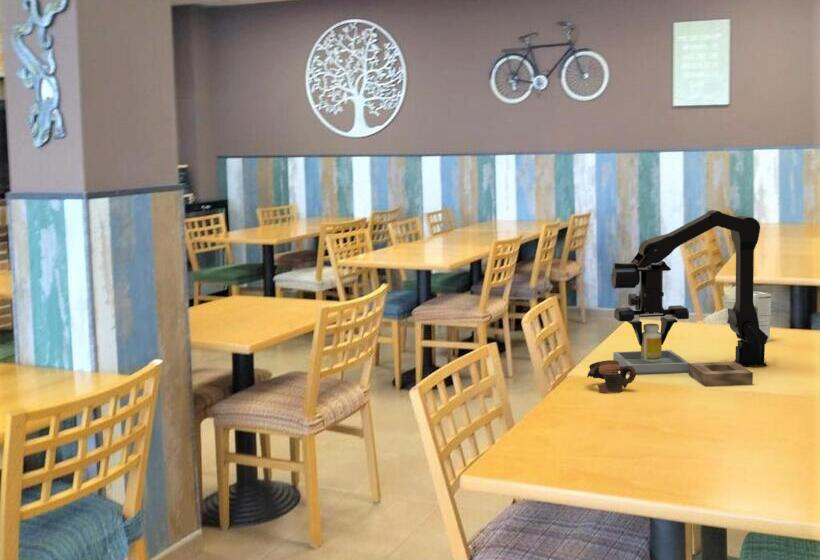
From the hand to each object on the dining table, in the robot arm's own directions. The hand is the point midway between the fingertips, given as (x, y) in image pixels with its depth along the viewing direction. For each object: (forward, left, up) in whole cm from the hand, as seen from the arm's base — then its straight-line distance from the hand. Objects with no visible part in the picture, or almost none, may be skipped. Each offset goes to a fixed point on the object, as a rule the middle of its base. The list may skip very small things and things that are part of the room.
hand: (651, 345), depth 261 cm
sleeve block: (-13, +16, -6) cm, 21 cm away
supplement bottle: (0, 0, -4) cm, 4 cm away
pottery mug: (+16, +21, -6) cm, 27 cm away
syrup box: (-40, -27, -6) cm, 49 cm away
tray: (0, 0, -6) cm, 6 cm away
